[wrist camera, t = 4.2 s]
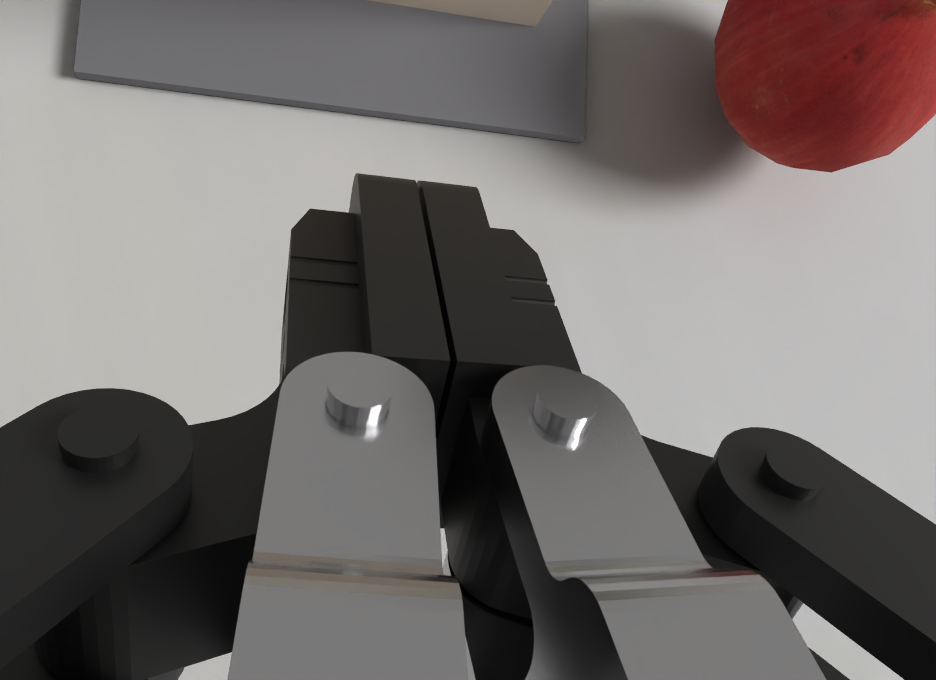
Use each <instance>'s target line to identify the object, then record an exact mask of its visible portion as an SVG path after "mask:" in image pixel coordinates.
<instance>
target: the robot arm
mask: <svg viewBox="0 0 936 680" xmlns="http://www.w3.org/2000/svg"><path fill="white" fill-rule="evenodd" d="M554 304H555V300H554V297H553V294H552V291H551V289H550V286H549V285H547V278H546V275H545V272H544V270H543V267H542V264H541V262H540V259H539V256H538V254H537V253H536V252H535V251H534V250H533V249H532V248H531V247H530V246H529V245H528V244H527V243H526V242H525V241H524V240H523V239H522V238H521V237H520V236H519V235H518V234H517V233H516V232H515V231H514V230H507V229H497V228H490V226H489V223H488V220H487V217H486V213H485V210H484V207H483V203H482V200H481V197H480V193H479V191H478V189H477V188H476V187H470V186H461V185H453V184H444V183H436V182H427V181H418V182H417V184H416V181H415V180H409V179H400V178H392V177H383V176H375V175H366V174H358V173H356V175H355V178H354V182H353V187H352V194H351V201H350V208H349V213H346V212H336V211H327V210H317V209H309V210H308V212H307V213H306V214H305V215H304V216H303V217H302V218H301V219H300V220H299V222H298V223H297V224H296V225H295V226H294V227H293V228H292V229H291V239H290V250H289V260H288V271H287V282H286V293H285V304H284V315H283V326H282V342H281V364H280V384H279V386H278V387H277V389H276V390H275V391H274V392H273V393H272V394H271V395H270V396H269V397H268V398H267V399H266V400H264V401H263V402H262V403H260V404H259V405H257V406H255V407H254V408H252V409H250V410H248V411H246V412H243V413H240V414H238V415H235V416H232V417H228V418H224V419H220V420H216V421H210V422H205V423H199V424H194V425H189V426H188V424H187V423H186V421H185V419H184V418H183V417H182V416H181V415H180V414H179V413H178V411H177V410H175V409H174V408H173V407H171V406H170V405H168V404H167V403H165V402H163V401H161V400H160V399H158V398H156V397H153V396H150V395H147V394H144V393H141V392H136V391H131V390H125V389H114V388H107V389H91V390H82V391H78V392H73V393H69V394H65V395H62V396H60V397H57V398H54V399H51V400H49V401H47V402H45V403H43V404H41V405H39V406H37V407H35V408H34V409H32V410H30V411H28V412H27V413H25V414H23V415H21V416H20V417H18V418H16V419H14V420H13V421H11V422H9V423H8V424H6V425H4V426H2V427H1V428H0V680H178V678H179V676H180V675H181V673H182V672H183V669H184V667H186V666H189V665H192V664H195V663H198V662H202V661H205V660H208V659H211V658H214V657H218V656H221V655H224V654H227V653H230V652H232V656H231V662H230V668H229V674H228V680H850V679H848V678H847V677H846V676H844V675H843V674H842V673H841V672H839V671H838V670H837V669H835V668H834V667H833V666H832V665H830V664H829V663H828V662H827V661H825V660H824V659H823V658H821V657H820V656H819V655H818V654H816V653H815V652H814V651H812V650H811V649H810V648H809V647H807V645H806V643H805V641H804V640H803V638H802V636H801V634H800V633H799V631H798V629H797V627H796V625H795V624H794V622H793V620H792V619H793V617H794V616H795V614H796V613H797V611H798V610H799V609H800V607H801V606H802V604H803V603H804V604H805V605H807V606H808V607H809V608H811V609H812V610H813V611H815V612H816V613H817V614H819V615H820V616H821V617H823V618H824V619H825V620H826V621H828V622H829V623H830V624H832V625H833V626H834V627H836V628H837V629H838V630H840V631H841V632H842V633H844V634H845V635H846V636H848V637H849V638H850V639H852V640H853V641H854V642H856V643H857V644H858V645H860V646H861V647H862V648H863V649H865V650H866V651H867V652H869V653H870V654H871V655H873V656H874V657H875V658H877V659H878V660H879V661H881V662H882V663H883V664H885V665H886V666H887V667H889V668H890V669H891V670H893V671H894V672H895V673H897V674H898V675H899V676H900V677H902V678H903V679H904V680H936V524H934V523H932V522H931V521H929V520H928V519H926V518H925V517H923V516H922V515H920V514H919V513H917V512H916V511H914V510H913V509H911V508H910V507H908V506H907V505H905V504H904V503H902V502H901V501H899V500H897V499H896V498H894V497H893V496H891V495H890V494H888V493H887V492H885V491H884V490H882V489H881V488H879V487H878V486H876V485H875V484H873V483H872V482H870V481H869V480H867V479H865V478H864V477H862V476H861V475H859V474H858V473H856V472H855V471H853V470H852V469H850V468H849V467H847V466H846V465H844V464H843V463H841V462H840V461H838V460H837V459H835V458H833V457H832V456H830V455H829V454H827V453H826V452H824V451H823V450H821V449H820V448H818V447H816V446H815V445H813V444H811V443H810V442H808V441H806V440H803V439H801V438H799V437H797V436H794V435H792V434H789V433H786V432H783V431H779V430H775V429H769V428H760V427H751V428H744V429H740V430H737V431H734V432H732V433H731V434H729V435H727V436H726V437H725V438H724V439H723V441H722V442H721V444H720V446H719V448H718V450H717V452H716V454H715V456H714V458H712V457H709V456H705V455H702V454H698V453H695V452H692V451H688V450H685V449H681V448H678V447H675V446H671V445H668V444H664V443H661V442H658V441H655V440H652V439H649V438H647V437H645V436H642V435H640V433H639V431H638V429H637V427H636V425H635V423H634V421H633V419H632V417H631V415H630V413H629V411H628V410H627V408H626V407H625V405H624V404H623V402H622V401H621V400H620V399H619V398H618V397H617V396H616V395H615V394H614V393H613V392H612V391H611V390H610V389H608V388H607V387H605V386H604V385H603V384H601V383H600V382H598V381H596V380H594V379H592V378H591V377H589V376H586V375H584V374H582V373H581V370H580V367H579V364H578V362H577V359H576V356H575V354H574V351H573V348H572V346H571V343H570V340H569V337H568V335H567V332H566V329H565V327H564V324H563V321H562V318H561V316H560V313H559V310H558V308H557V306H554ZM440 528H445V535H446V542H447V548H448V551H447V554H446V558H445V561H444V565H443V568H442V555H441V534H440Z"/></svg>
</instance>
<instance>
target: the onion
mask: <svg viewBox="0 0 936 680" xmlns="http://www.w3.org/2000/svg"><path fill="white" fill-rule="evenodd" d="M715 86H716V92H717V95H718V97H719V100H720V103H721V106H722V108H723V111H724V114H725V117H726V119H727V121H728V122H729V123H730V125H731V126H732V127H733V128H734V129H735V131H736V132H737V133H738V134H739V135H740V137H741V138H742V139H743V140H744V141H745V142H746V144H747V145H748V146H749V147H751V148H752V149H754V150H756V151H757V152H759V153H761V154H762V155H764V156H766V157H767V158H769V159H771V160H773V161H774V162H776V163H778V164H781V165H785V166H789V167H793V168H799V169H808V170H816V171H825V172H834V171H837V170H840V169H843V168H847V167H850V166H853V165H856V164H860V163H863V162H866V161H869V160H873V159H876V158H879V157H882V156H885V155H889V154H890V153H891V152H893V151H894V150H895V149H897V148H898V147H899V146H901V145H902V144H903V143H905V142H906V141H907V140H909V139H910V138H911V137H912V136H913V135H914V134H915V133H916V132H917V131H918V130H919V129H921V128H922V127H923V126H924V125H925V124H926V123H927V122H928V121H929V120H930V119H931V118H932V117H933V116H934V115H935V114H936V0H728V2H727V4H726V7H725V10H724V14H723V17H722V20H721V23H720V26H719V29H718V32H717V35H716V38H715Z"/></svg>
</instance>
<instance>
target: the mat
mask: <svg viewBox="0 0 936 680" xmlns="http://www.w3.org/2000/svg"><path fill="white" fill-rule="evenodd" d="M587 28H588V0H553V1H552V2H551V4H550V5H549V7H548V8H547V10H546V11H545V13H544V14H543V16H542V17H541V19H540V20H539V22H538V23H537V25H536V26H535V27H533V26H526V25H520V24H514V23H508V22H501V21H495V20H489V19H482V18H476V17H470V16H464V15H457V14H451V13H445V12H438V11H432V10H426V9H420V8H413V7H407V6H401V5H395V4H388V3H382V2H376V1H369V0H81V6H80V16H79V25H78V35H77V44H76V54H75V63H74V73H75V75H76V77H77V78H79V79H87V80H94V81H102V82H110V83H118V84H126V85H133V86H141V87H149V88H157V89H164V90H172V91H180V92H188V93H195V94H203V95H211V96H219V97H227V98H234V99H242V100H250V101H258V102H265V103H273V104H281V105H289V106H296V107H304V108H312V109H320V110H328V111H335V112H343V113H351V114H359V115H366V116H374V117H382V118H390V119H397V120H405V121H413V122H421V123H428V124H436V125H444V126H452V127H460V128H467V129H475V130H483V131H491V132H498V133H506V134H514V135H522V136H529V137H537V138H545V139H553V140H561V141H568V142H576V143H580V142H581V141H582V140H584V139H585V121H586V74H587Z"/></svg>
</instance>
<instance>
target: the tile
mask: <svg viewBox="0 0 936 680" xmlns="http://www.w3.org/2000/svg"><path fill="white" fill-rule="evenodd" d="M369 1H376V2H382V3H388V4H395V5H401V6H407V7H413V8H420V9H426V10H432V11H438V12H445V13H451V14H457V15H464V16H470V17H476V18H482V19H489V20H495V21H501V22H508V23H514V24H520V25H526V26H533V27H535V26H536V25H537V23H538V22H539V20H540V19H541V17H542V16H543V14H544V13H545V11H546V10H547V8H548V7H549V5H550V4H551V2H552V1H553V0H369Z"/></svg>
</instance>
